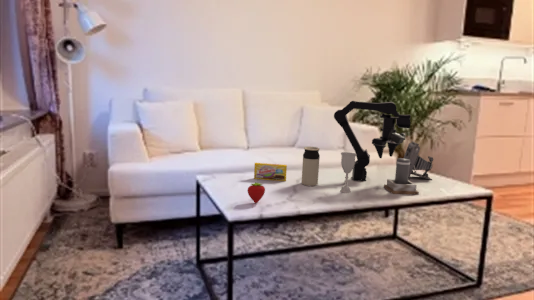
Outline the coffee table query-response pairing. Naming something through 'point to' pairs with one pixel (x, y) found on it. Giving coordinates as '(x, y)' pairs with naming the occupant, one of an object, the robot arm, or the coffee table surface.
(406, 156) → the camera
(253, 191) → the strawberry
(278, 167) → the candy box
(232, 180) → the coffee table surface
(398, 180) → the lens
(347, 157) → the chalice
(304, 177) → the travel mug
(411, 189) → the mount
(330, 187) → the coffee table surface
